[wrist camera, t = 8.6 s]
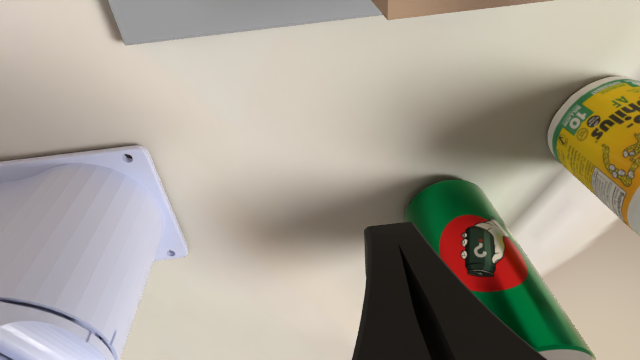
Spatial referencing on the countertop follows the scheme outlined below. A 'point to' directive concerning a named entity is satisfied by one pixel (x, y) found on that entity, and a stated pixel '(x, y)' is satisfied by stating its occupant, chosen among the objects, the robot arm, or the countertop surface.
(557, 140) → the supplement bottle
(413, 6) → the bearing block
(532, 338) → the soda can
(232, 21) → the base plate
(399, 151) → the countertop surface
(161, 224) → the robot arm
